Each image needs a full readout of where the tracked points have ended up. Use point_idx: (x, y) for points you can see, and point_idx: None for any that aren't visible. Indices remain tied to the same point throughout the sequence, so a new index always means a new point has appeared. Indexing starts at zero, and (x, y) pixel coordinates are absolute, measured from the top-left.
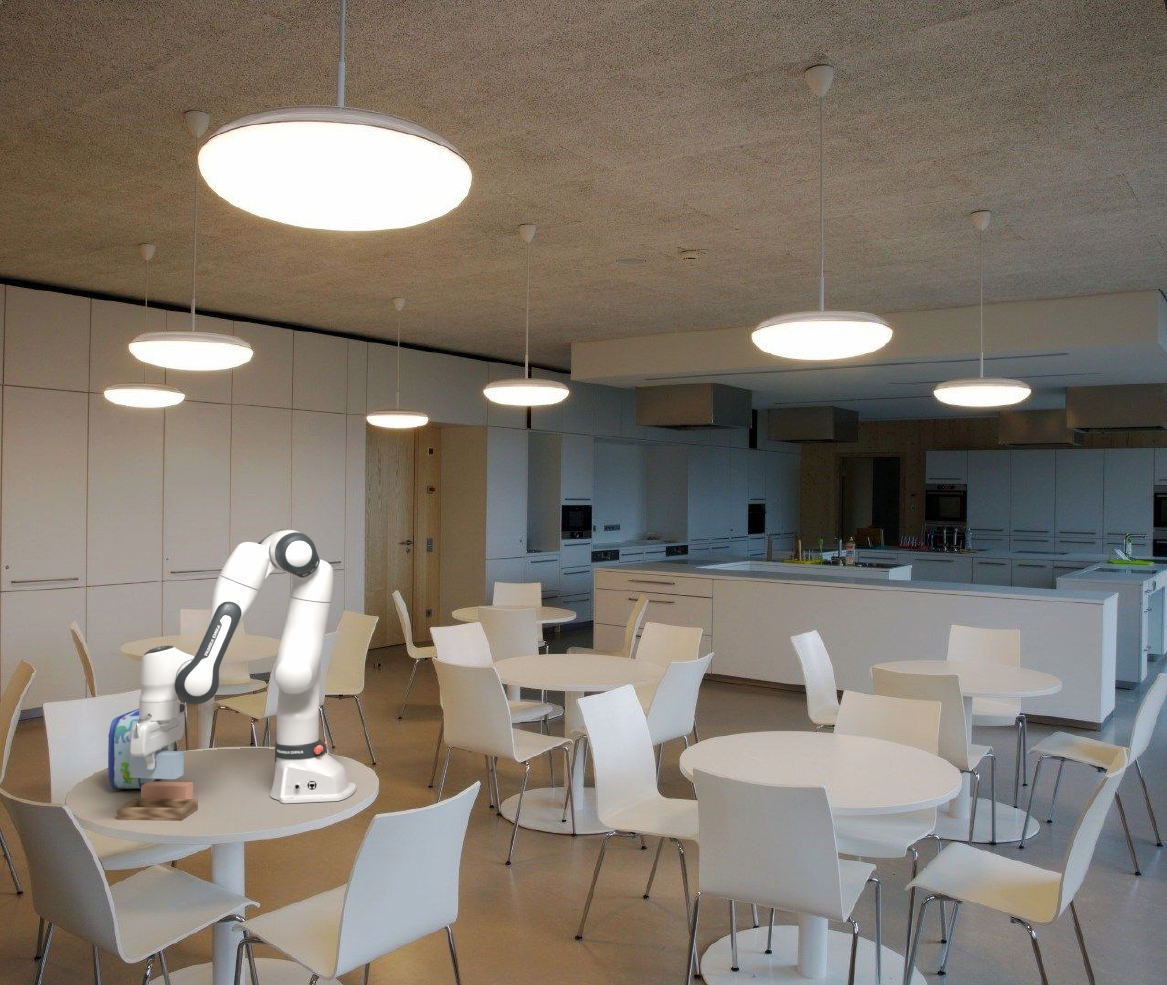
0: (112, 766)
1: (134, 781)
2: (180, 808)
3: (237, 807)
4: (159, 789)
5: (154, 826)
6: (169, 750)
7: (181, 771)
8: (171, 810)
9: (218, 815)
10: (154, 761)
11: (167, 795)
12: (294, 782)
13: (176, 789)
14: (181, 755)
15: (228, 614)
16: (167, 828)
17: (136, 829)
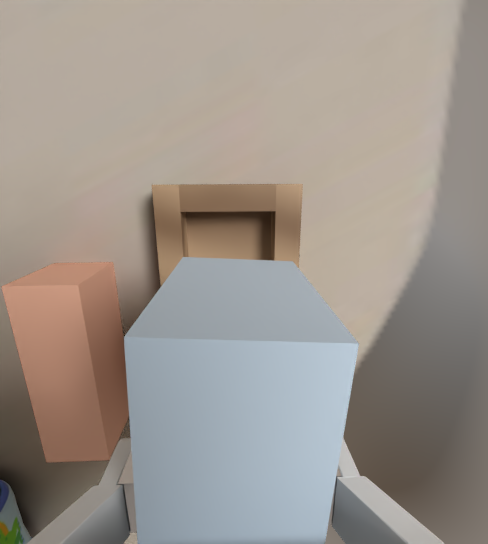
0: None
1: (9, 517)
2: (284, 198)
3: (109, 4)
4: (104, 386)
5: (357, 249)
6: (50, 525)
7: (205, 265)
8: (299, 229)
9: (228, 49)
10: (352, 478)
11: (109, 343)
12: None
13: (92, 320)
14: (191, 318)
15: None
16: (382, 191)
17: (383, 292)
